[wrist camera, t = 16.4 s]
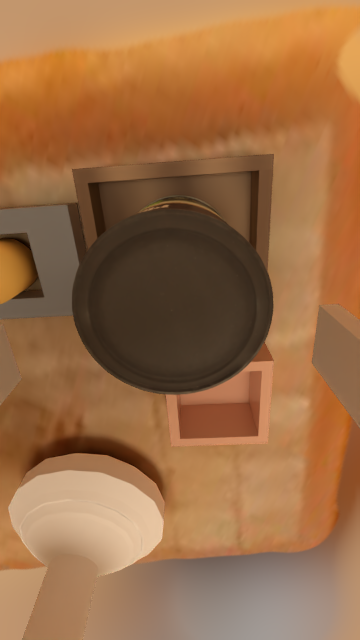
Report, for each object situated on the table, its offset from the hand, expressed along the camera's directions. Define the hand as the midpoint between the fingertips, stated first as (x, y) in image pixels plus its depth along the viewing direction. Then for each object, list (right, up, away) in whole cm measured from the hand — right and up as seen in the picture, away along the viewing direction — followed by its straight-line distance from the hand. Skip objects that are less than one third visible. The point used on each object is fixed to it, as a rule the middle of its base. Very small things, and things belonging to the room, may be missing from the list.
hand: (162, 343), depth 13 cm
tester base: (-15, +7, +17) cm, 24 cm away
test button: (-15, +6, +16) cm, 23 cm away
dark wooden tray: (+1, +8, +16) cm, 18 cm away
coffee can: (+1, +7, +16) cm, 17 cm away
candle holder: (-11, -23, +31) cm, 40 cm away
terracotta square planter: (+5, -5, +22) cm, 23 cm away
